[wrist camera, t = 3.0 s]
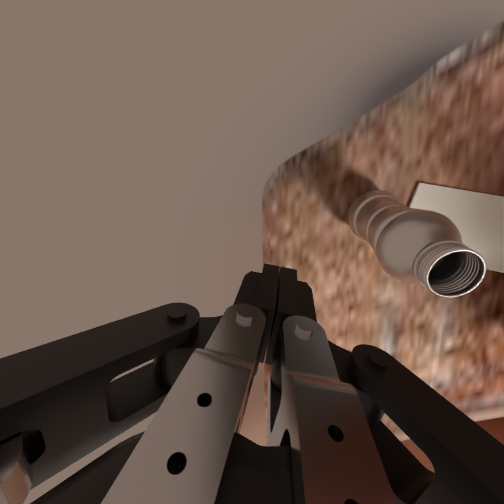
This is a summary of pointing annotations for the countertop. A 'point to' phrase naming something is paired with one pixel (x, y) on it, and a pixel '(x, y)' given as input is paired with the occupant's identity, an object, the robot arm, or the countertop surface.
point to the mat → (469, 218)
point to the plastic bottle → (416, 244)
